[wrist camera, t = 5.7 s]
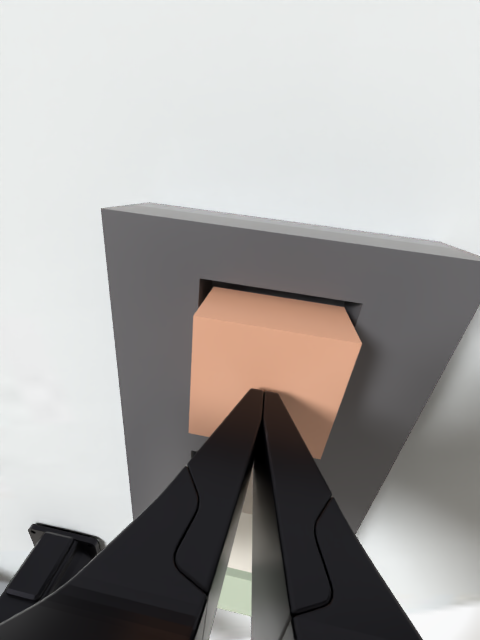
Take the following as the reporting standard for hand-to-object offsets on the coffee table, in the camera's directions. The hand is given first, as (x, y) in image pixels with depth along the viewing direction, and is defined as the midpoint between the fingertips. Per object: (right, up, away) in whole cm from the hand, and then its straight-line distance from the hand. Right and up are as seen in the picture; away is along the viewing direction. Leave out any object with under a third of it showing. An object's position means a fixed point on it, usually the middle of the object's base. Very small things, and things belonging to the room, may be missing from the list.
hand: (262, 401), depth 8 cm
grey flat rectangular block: (0, -5, +9) cm, 10 cm away
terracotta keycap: (0, +1, +2) cm, 3 cm away
